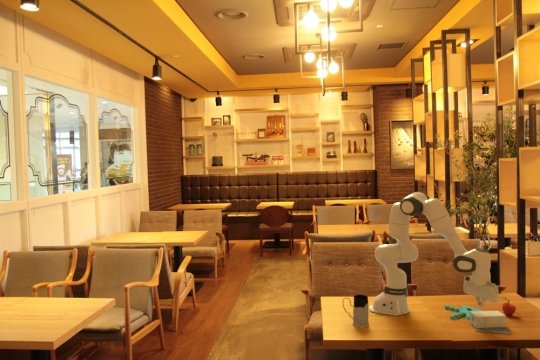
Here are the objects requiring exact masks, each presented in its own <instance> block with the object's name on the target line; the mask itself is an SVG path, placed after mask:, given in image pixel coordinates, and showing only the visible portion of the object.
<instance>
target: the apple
mask: <svg viewBox="0 0 540 360" xmlns="http://www.w3.org/2000/svg"><path fill="white" fill-rule="evenodd" d="M503 299H504V300H506V301H507V302H503V303H502V306H501V307H502V308H501V309H502V311H503V314H504V315H505V316H506V317H507V316H509V317H512V316H513V315H514V314H515V312H516V310H517V308H516V306H515V305H514V304H512V303H510V300H508V298H507V297H503Z"/></svg>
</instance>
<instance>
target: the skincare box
mask: <svg viewBox="0 0 540 360" xmlns="http://www.w3.org/2000/svg"><path fill="white" fill-rule="evenodd" d="M469 324H471V325H472V326H473V327H474V326H475V327H476V328H496V327H506V326H507V315H505V313H504V312H501V311H499V310H484V311H470V320H469ZM475 327H474V328H475Z"/></svg>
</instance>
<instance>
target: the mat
mask: <svg viewBox="0 0 540 360" xmlns="http://www.w3.org/2000/svg"><path fill="white" fill-rule="evenodd" d="M473 327H474V329H475V332H476V333H477V332H478V333H486V332H487V333H489V334H497V335H498V334H501V335H510V336H511V335H512V334H511V332H510V330H509V328H508V326H507V325H506V327H496V328H476V327H475V326H473Z"/></svg>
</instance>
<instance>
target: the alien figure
mask: <svg viewBox="0 0 540 360" xmlns="http://www.w3.org/2000/svg"><path fill="white" fill-rule="evenodd" d="M444 310H449V311H453V312H454V313H453V314H449V319H450V320H456V319H459V318H463V317H465V318H466V319H467V321H470V311H485V309H480V308H475V307H473V306H471V307H470V306H469V305H460V308H459V307H454V306H453V305H449V304H444Z"/></svg>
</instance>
